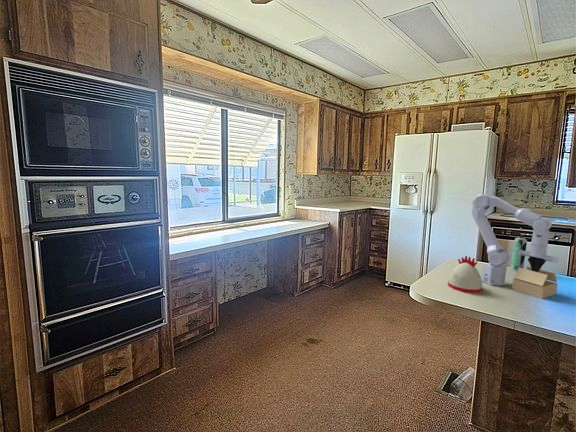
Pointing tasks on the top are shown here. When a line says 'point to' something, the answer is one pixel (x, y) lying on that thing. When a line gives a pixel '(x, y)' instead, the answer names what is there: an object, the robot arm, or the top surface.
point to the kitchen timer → (465, 277)
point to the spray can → (518, 245)
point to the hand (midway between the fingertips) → (534, 274)
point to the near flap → (531, 276)
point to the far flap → (550, 276)
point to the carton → (535, 288)
